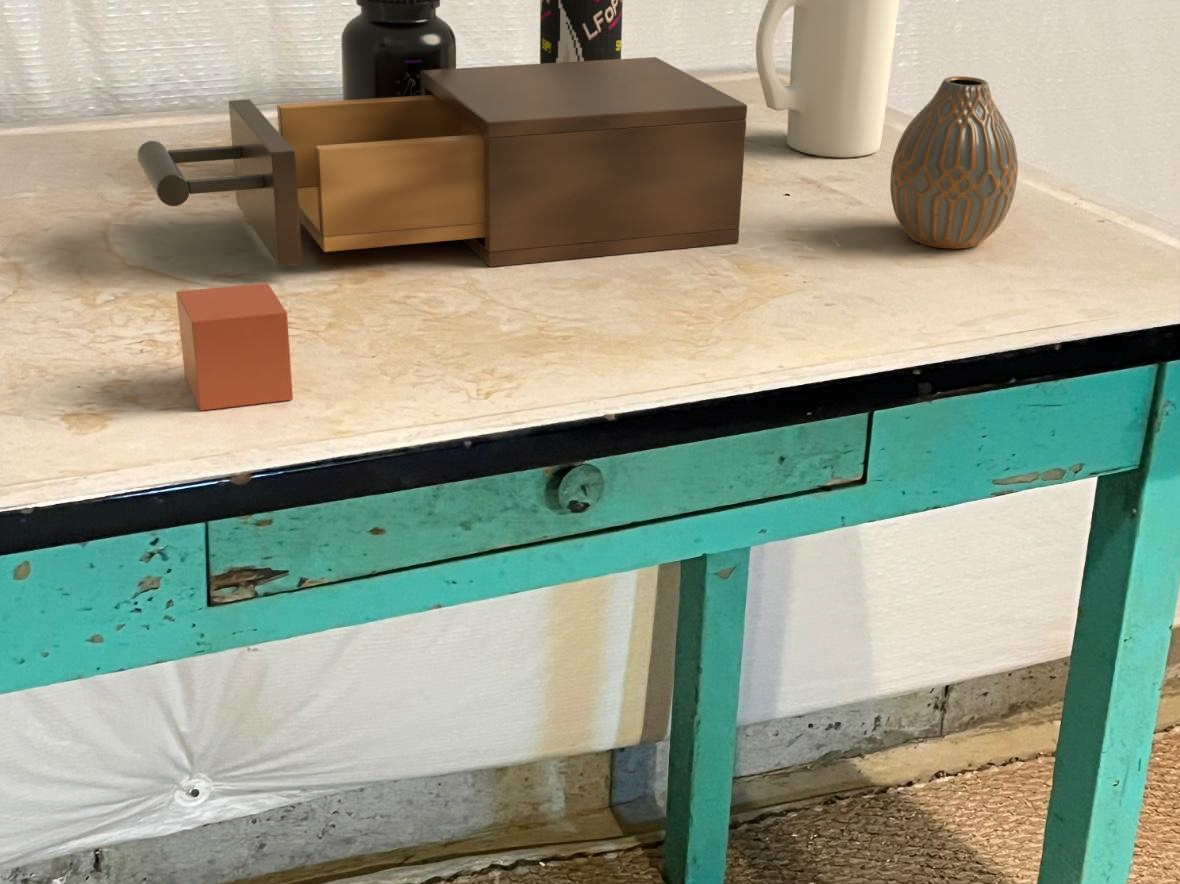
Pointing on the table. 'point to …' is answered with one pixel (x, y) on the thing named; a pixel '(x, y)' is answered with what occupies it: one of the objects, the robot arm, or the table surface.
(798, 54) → the mug
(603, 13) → the beverage can
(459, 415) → the table surface
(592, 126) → the cabinet
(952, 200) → the vase
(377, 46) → the supplement bottle
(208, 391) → the block
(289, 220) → the drawer
